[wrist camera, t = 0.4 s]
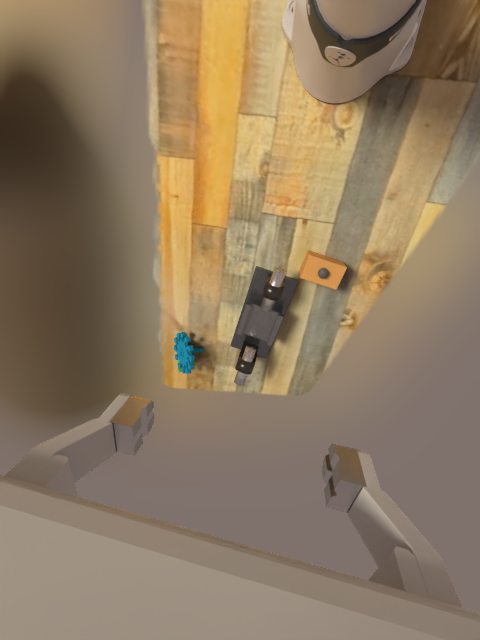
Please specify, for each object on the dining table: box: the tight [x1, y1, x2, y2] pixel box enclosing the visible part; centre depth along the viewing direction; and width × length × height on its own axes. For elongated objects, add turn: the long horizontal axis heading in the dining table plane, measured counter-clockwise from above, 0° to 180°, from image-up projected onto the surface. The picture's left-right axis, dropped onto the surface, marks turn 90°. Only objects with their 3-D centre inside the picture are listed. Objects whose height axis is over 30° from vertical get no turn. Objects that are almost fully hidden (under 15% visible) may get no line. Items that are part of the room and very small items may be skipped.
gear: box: [174, 332, 203, 374], centre depth 62 cm, size 11×6×10 cm
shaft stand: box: [231, 266, 298, 385], centre depth 52 cm, size 25×9×11 cm, turn 164°
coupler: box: [299, 250, 347, 290], centre depth 48 cm, size 7×4×6 cm, turn 74°
